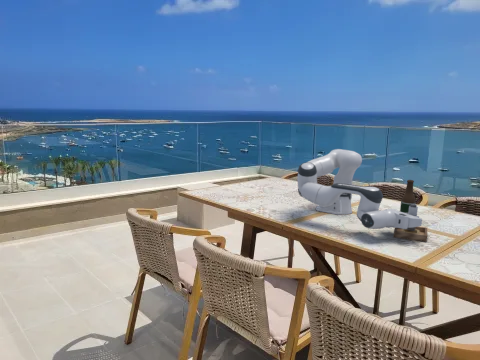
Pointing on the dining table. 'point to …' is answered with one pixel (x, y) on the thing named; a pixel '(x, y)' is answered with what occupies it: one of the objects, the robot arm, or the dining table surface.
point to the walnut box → (412, 234)
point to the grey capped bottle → (412, 211)
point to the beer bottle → (407, 197)
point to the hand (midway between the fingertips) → (413, 216)
